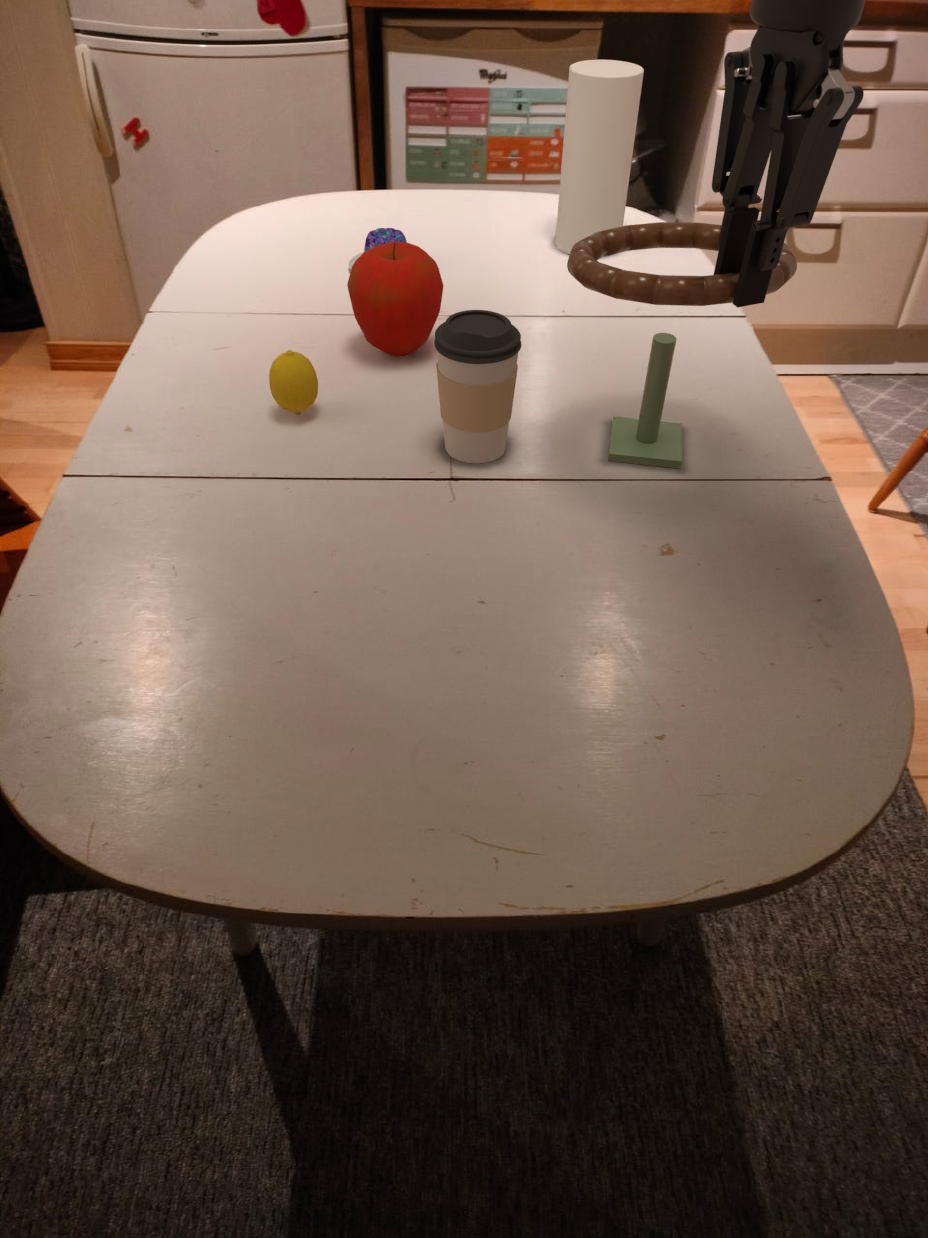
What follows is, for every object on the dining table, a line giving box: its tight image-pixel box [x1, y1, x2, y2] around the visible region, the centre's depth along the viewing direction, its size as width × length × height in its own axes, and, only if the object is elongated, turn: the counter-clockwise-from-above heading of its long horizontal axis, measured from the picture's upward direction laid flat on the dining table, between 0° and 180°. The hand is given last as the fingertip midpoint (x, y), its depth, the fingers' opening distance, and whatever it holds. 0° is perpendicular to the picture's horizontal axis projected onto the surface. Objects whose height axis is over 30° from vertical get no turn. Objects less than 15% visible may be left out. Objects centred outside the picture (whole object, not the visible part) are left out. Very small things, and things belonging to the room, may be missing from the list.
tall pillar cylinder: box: [554, 59, 645, 255], centre depth 131 cm, size 11×11×25 cm
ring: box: [566, 221, 798, 307], centre depth 80 cm, size 21×21×2 cm
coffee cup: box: [433, 309, 522, 464], centre depth 91 cm, size 9×9×15 cm
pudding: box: [347, 227, 408, 271], centre depth 130 cm, size 12×12×5 cm
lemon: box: [268, 349, 319, 415], centre depth 98 cm, size 6×6×8 cm
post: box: [607, 332, 683, 470], centre depth 92 cm, size 8×8×13 cm
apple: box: [346, 242, 444, 358], centre depth 108 cm, size 12×12×14 cm
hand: (736, 294), depth 74 cm, fingers closed on ring, 3 cm apart
